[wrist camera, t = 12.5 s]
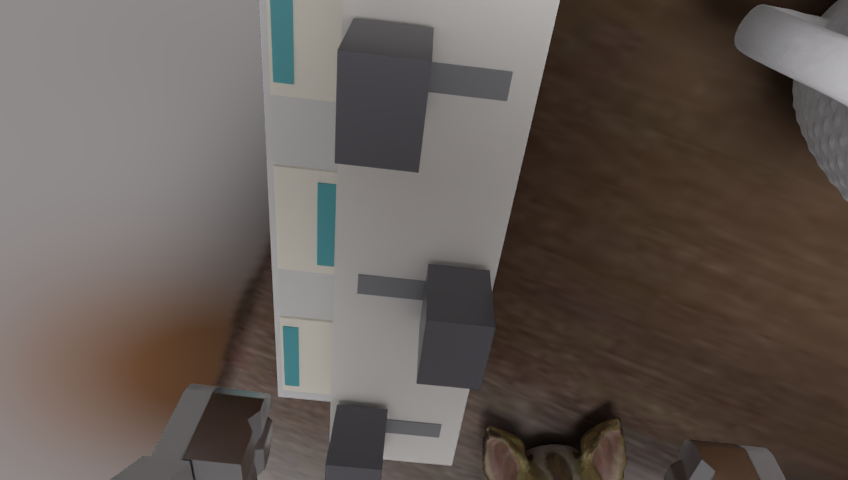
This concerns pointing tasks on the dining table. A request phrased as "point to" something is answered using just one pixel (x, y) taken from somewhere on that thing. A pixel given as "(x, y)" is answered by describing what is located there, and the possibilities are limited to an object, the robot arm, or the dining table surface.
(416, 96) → the slider
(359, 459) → the slider
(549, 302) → the dining table surface
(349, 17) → the switch unit
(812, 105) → the mug
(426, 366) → the slider middle
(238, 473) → the robot arm
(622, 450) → the ceramic sculpture
